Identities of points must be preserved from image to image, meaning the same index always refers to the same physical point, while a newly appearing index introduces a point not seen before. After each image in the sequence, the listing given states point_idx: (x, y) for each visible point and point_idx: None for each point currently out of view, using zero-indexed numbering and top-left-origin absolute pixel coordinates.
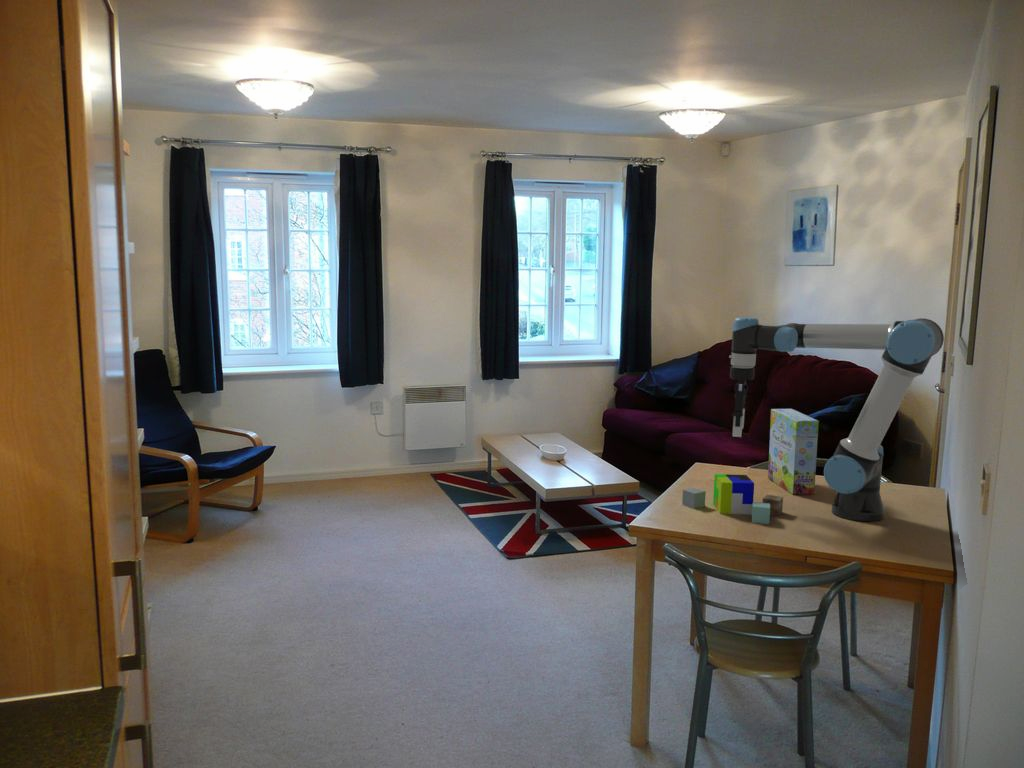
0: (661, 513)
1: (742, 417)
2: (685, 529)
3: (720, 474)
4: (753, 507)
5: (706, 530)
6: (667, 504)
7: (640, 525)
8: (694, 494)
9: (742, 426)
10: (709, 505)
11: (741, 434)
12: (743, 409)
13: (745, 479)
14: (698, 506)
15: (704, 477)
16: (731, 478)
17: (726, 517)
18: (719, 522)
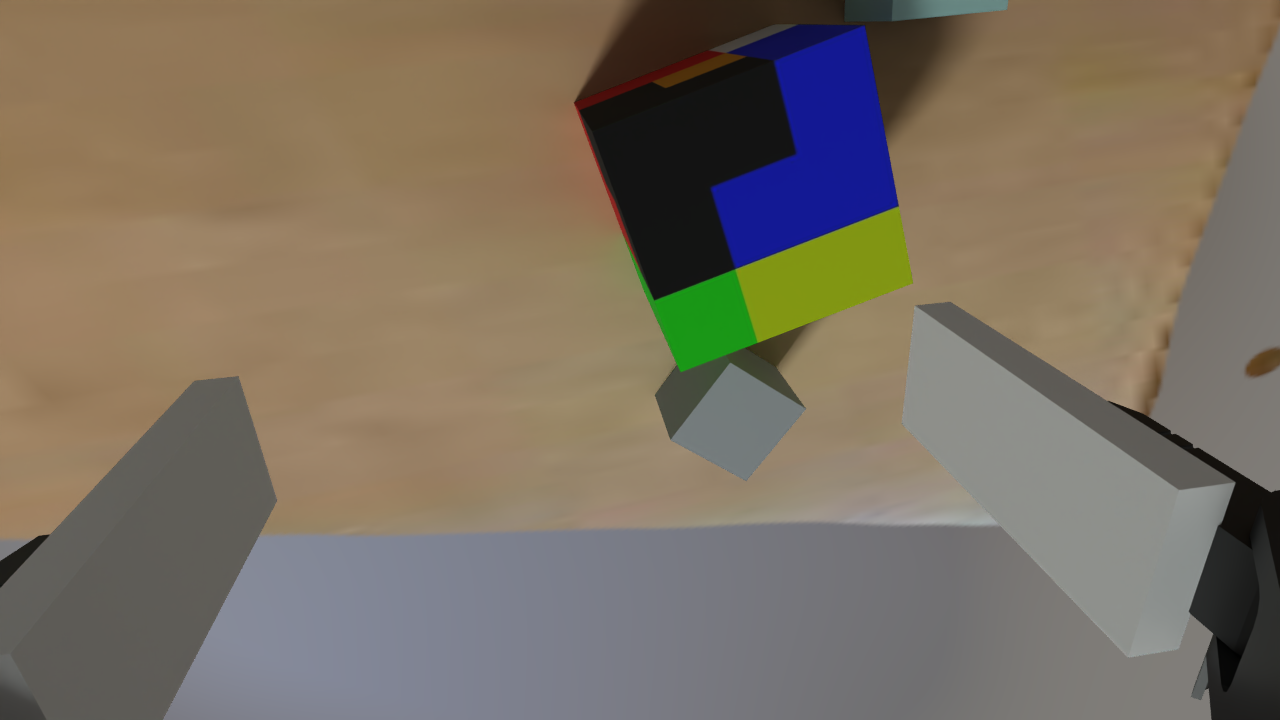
0: (903, 480)
1: (1211, 474)
2: (1125, 331)
3: (672, 332)
4: (1004, 3)
5: (1129, 238)
6: (744, 494)
7: None
8: (803, 406)
9: (230, 410)
10: None
11: (968, 317)
12: (39, 670)
13: (758, 117)
14: (749, 353)
15: (9, 457)
16: (766, 234)
17: None
18: (986, 198)
